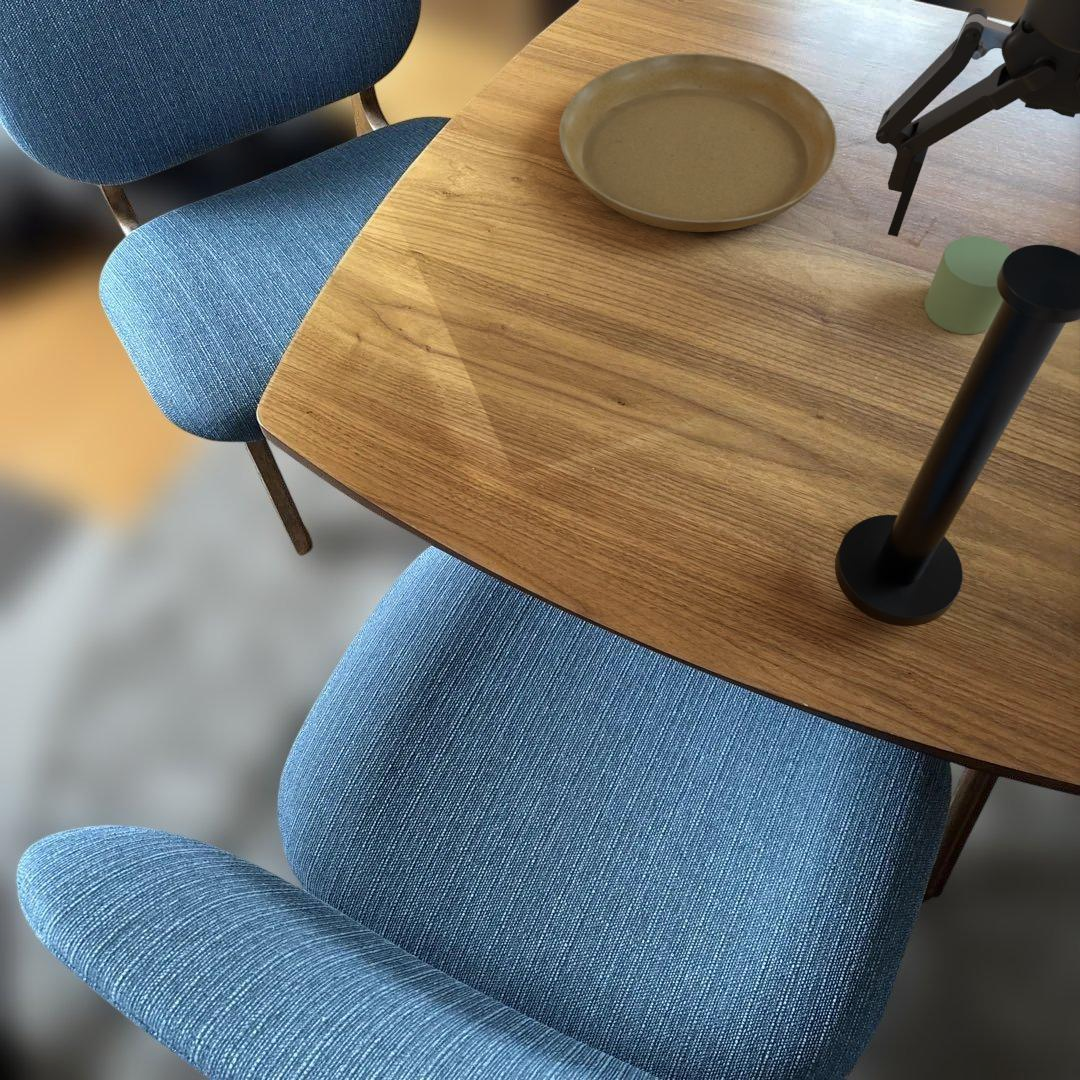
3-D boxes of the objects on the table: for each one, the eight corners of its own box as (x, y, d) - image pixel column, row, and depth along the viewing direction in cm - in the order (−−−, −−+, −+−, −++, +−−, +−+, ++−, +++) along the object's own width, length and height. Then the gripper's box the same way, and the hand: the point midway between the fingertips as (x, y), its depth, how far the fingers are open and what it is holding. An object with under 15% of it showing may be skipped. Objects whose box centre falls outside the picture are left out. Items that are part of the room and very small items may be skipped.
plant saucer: (520, 117, 97) (519, 84, 94) (750, 60, 101) (755, 28, 98) (623, 283, 84) (625, 252, 81) (880, 211, 89) (890, 178, 86)
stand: (981, 601, 67) (1184, 309, 46) (877, 643, 66) (1035, 362, 44) (912, 509, 72) (1067, 201, 50) (812, 547, 70) (927, 245, 48)
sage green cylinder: (1011, 322, 81) (1035, 274, 77) (951, 343, 80) (972, 294, 76) (968, 277, 84) (990, 228, 80) (910, 296, 83) (929, 247, 79)
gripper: (1352, -33, 58) (1167, 256, 76) (911, -110, 64) (834, 177, 82) (1354, 38, 55) (1158, 325, 73) (885, -50, 60) (810, 237, 78)
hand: (986, 247), depth 77 cm, fingers open, 13 cm apart
